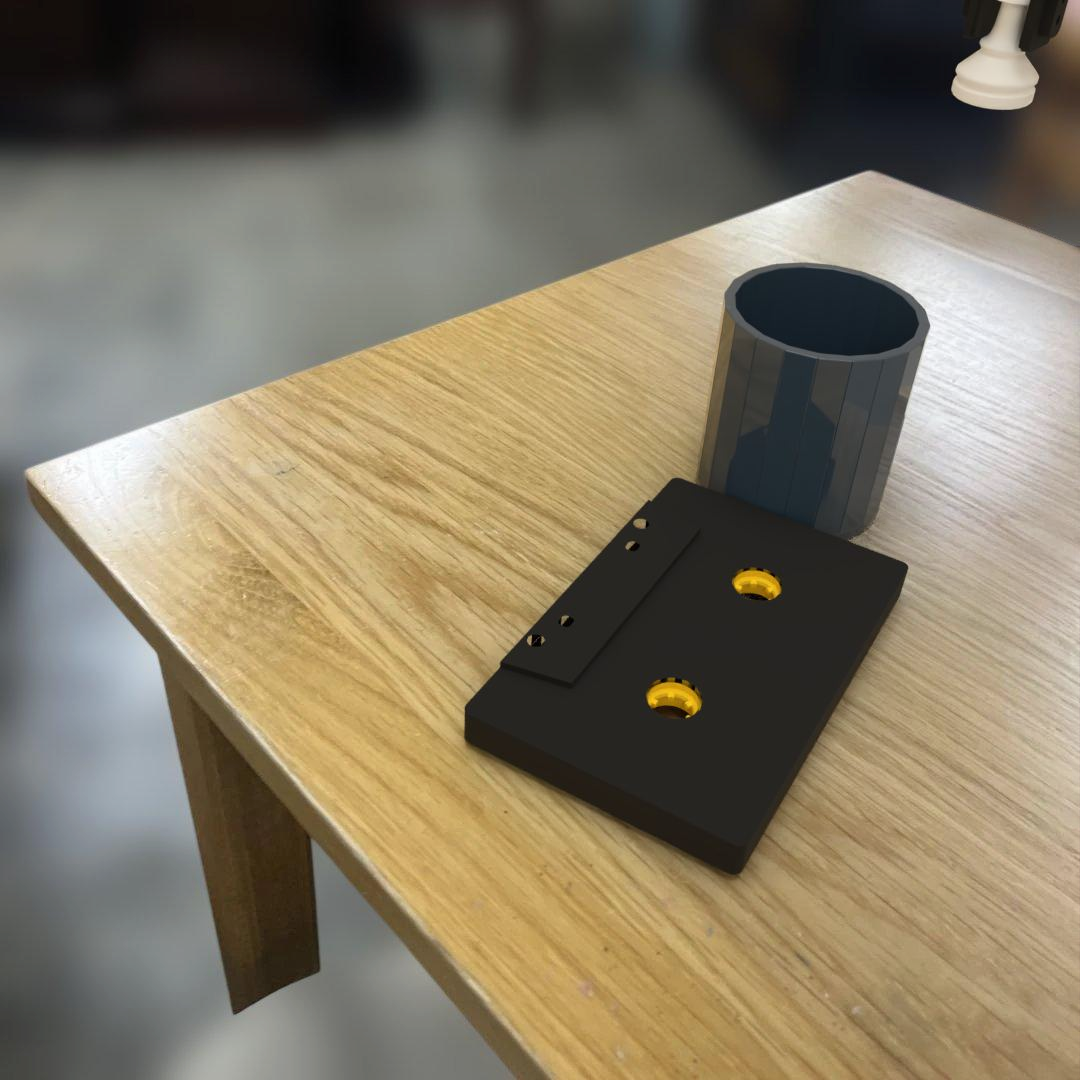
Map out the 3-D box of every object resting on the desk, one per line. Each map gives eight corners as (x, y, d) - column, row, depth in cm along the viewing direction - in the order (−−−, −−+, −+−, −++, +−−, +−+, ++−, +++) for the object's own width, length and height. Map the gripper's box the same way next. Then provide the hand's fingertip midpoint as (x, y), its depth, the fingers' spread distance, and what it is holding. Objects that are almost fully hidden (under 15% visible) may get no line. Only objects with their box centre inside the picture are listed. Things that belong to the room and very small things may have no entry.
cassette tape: (669, 507, 59) (675, 470, 58) (900, 596, 55) (912, 559, 53) (460, 743, 47) (460, 704, 45) (736, 883, 42) (746, 844, 41)
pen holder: (761, 417, 66) (794, 244, 59) (912, 489, 61) (965, 310, 55) (659, 488, 60) (684, 306, 54) (817, 572, 56) (864, 384, 49)
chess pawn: (940, 100, 77) (976, -55, 71) (962, 78, 80) (998, -72, 75) (1021, 116, 75) (1065, -42, 69) (1040, 93, 78) (1083, -60, 73)
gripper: (1285, -315, 62) (1160, 57, 73) (984, -338, 70) (914, 0, 82) (1237, -308, 57) (1112, 87, 69) (921, -333, 66) (857, 24, 77)
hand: (1006, 37), depth 75 cm, fingers closed on chess pawn, 3 cm apart
